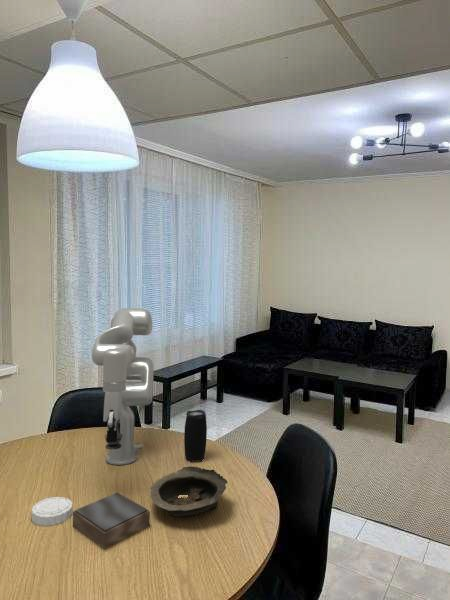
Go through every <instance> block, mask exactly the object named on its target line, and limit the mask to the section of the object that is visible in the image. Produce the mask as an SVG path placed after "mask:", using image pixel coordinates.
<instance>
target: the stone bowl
mask: <svg viewBox="0 0 450 600" xmlns="http://www.w3.org/2000/svg"><path fill="white" fill-rule="evenodd" d="M227 484H228V480H227V479H226V478H224V477H223V475H221V473H218V472H217V471H216V470H215V469H206V468H202V467H198V466H192V465H190V466H183V467H182V468H181V469H178V470H177V471H176V472H170V473H168V474H167V475H165V476H163V477H161V478H159V479H158V480H157V481H155V482H154V483H153V484H152V485H151V486H150V488H149V489H150V494H149V495H150V499H151V501H152V503H153V504H154V505H156V506H157V507H159V508H161V509H164V511H165V512H166V513H167V514H168V515H169V516H175V517H186V516H187V517H188V516H192V515H197V514H201V513H203V512H206V511H208V510H210V509H211V510H215V509H217V507H218V504H219V499H220V498H221V496H222V495H223V493H224V492H225V491H226V489H227V486H226V485H227ZM179 495H188V497H187V498H186V497H183V498H182V497H181V498H178V496H179Z"/></svg>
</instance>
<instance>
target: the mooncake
mask: <svg viewBox="0 0 450 600" xmlns="http://www.w3.org/2000/svg"><path fill="white" fill-rule="evenodd" d="M73 508H74V503H73V501H72V500H71V499H69V498H68V497H66V498H65V497H63V496H56V497H54V496H51V497H48V498H46V497H45V498H44V499H42V500H39V501H38V502H35V504H34V505H33V506H32V507H31V517H30V518H31V520H32V521H31V522H32V523H34V524H35V525H38V526H41V527H42V526H44V527H49V526H51V527H52V526H55V525H60V524H62V523H65V522H67V520H69V519H71V517H73V511H74V509H73Z"/></svg>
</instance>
